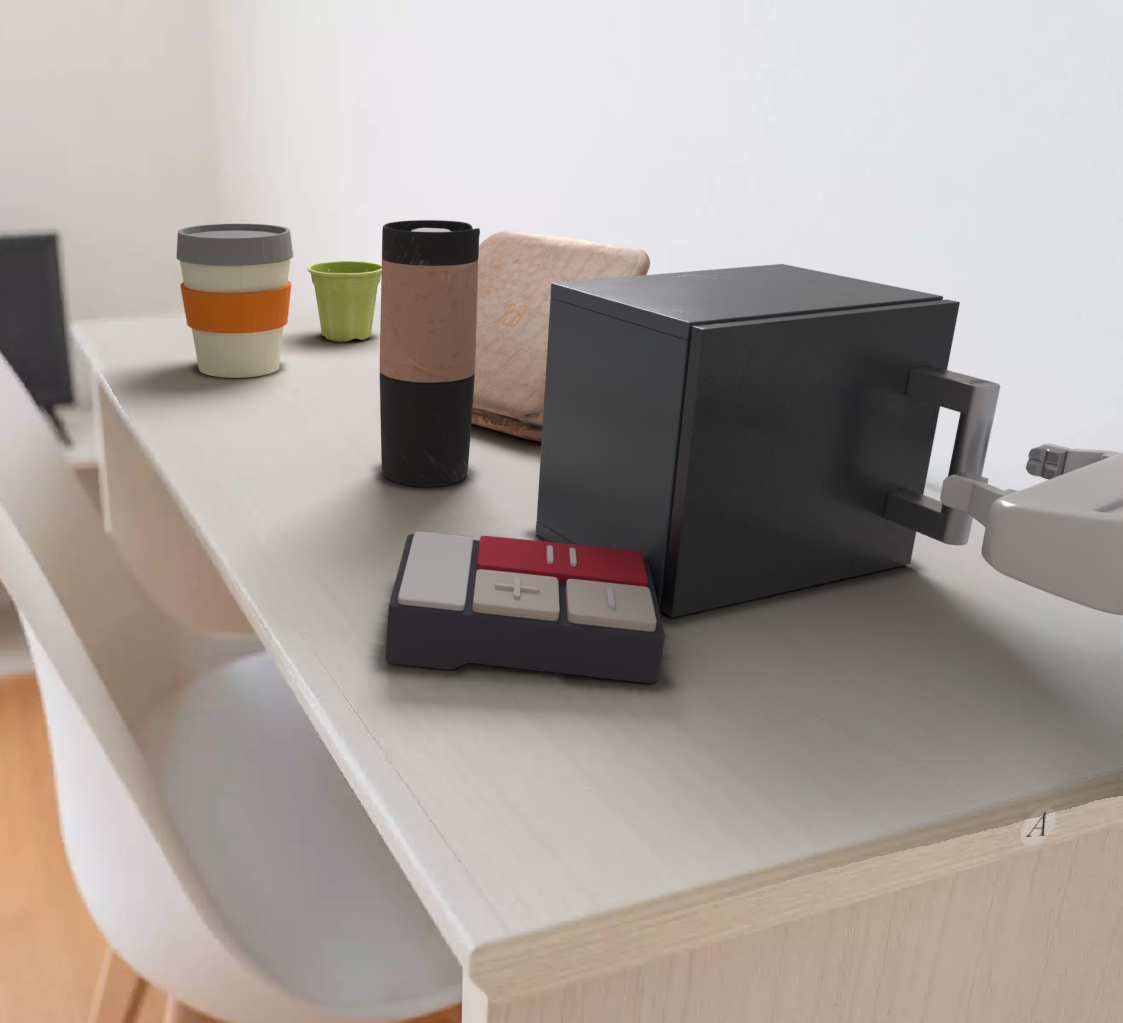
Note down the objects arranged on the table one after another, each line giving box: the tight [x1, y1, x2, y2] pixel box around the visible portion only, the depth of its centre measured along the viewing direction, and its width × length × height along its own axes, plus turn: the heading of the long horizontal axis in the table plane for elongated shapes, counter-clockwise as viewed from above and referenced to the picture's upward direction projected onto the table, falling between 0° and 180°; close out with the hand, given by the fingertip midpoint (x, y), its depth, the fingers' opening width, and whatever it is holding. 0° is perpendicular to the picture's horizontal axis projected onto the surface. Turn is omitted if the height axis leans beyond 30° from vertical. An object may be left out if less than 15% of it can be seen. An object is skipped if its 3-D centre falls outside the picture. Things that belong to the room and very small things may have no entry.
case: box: [471, 230, 651, 442], centre depth 111 cm, size 20×21×16 cm
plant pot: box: [307, 260, 382, 343], centre depth 142 cm, size 9×9×9 cm
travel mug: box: [379, 219, 481, 488], centre depth 92 cm, size 8×8×20 cm
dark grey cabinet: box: [535, 263, 944, 612], centre depth 78 cm, size 14×20×18 cm
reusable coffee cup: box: [175, 223, 294, 379], centre depth 126 cm, size 13×13×15 cm
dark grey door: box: [661, 299, 1001, 618], centre depth 69 cm, size 6×20×18 cm, turn 114°
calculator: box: [384, 531, 666, 684], centre depth 68 cm, size 11×4×15 cm
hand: (992, 471), depth 69 cm, fingers open, 8 cm apart
